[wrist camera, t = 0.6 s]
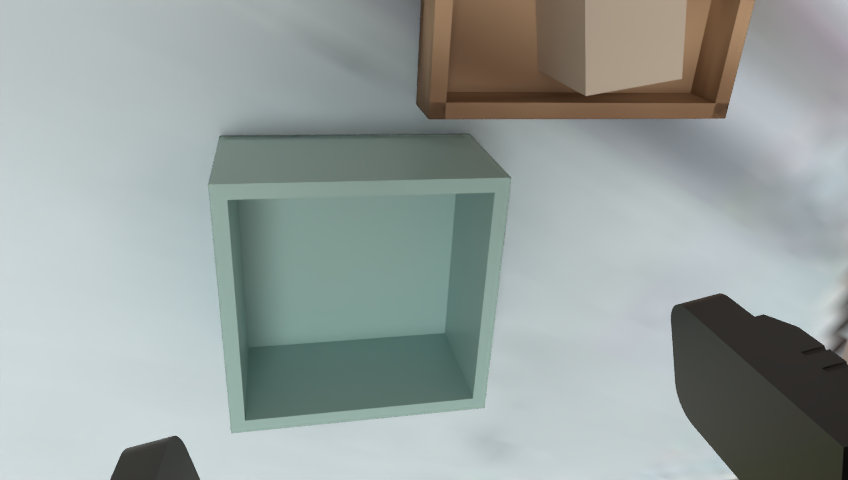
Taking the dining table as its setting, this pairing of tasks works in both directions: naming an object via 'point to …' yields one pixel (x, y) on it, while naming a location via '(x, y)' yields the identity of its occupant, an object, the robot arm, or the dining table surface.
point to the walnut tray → (548, 98)
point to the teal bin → (355, 274)
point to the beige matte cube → (610, 42)
